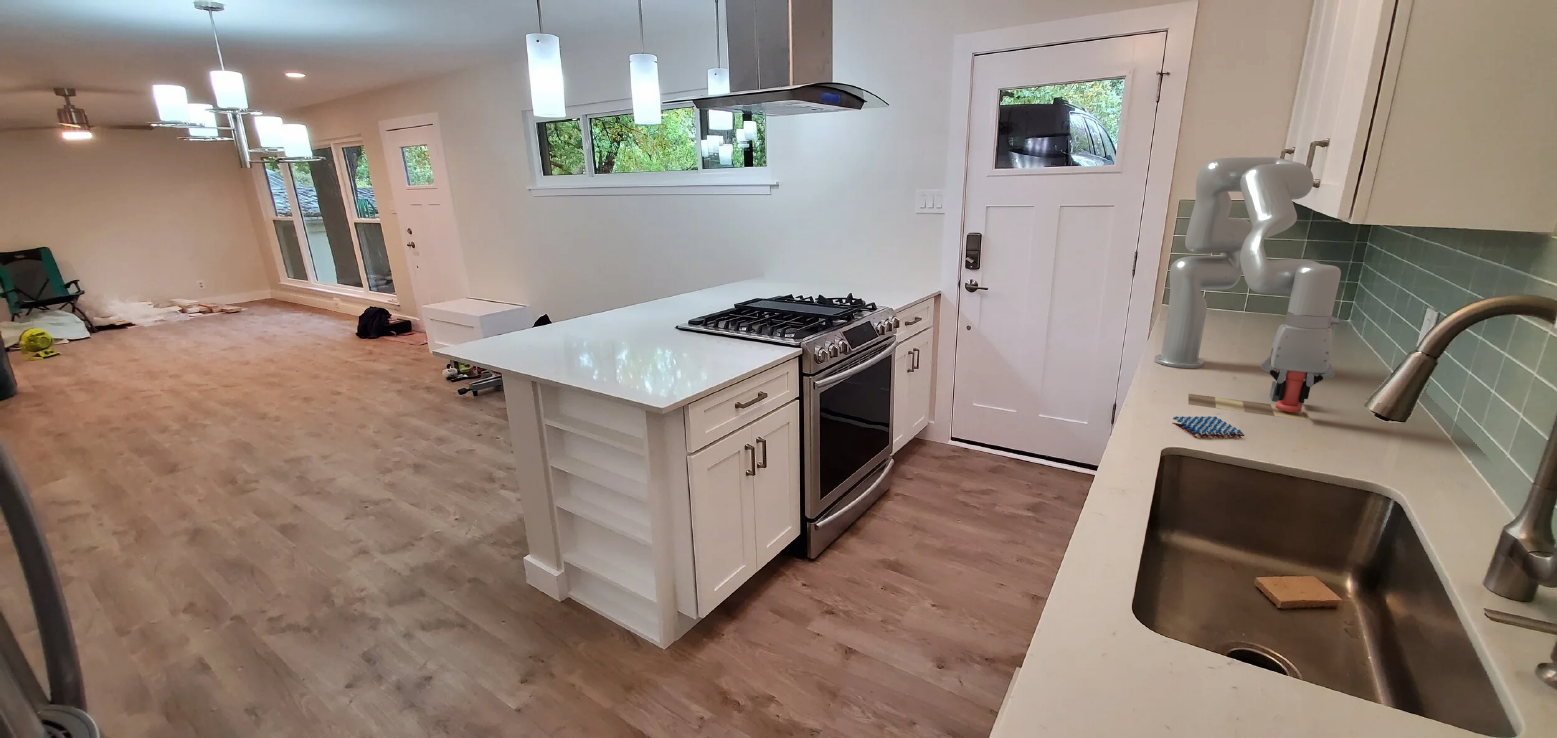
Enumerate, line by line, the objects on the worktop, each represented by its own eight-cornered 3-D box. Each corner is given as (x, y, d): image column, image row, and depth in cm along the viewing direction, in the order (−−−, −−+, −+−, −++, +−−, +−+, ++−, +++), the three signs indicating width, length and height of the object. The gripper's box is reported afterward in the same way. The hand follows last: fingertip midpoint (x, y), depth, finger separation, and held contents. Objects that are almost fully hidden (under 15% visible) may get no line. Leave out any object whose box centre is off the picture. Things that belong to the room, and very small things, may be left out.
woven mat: (1246, 441, 133) (1248, 432, 133) (1195, 441, 134) (1196, 432, 133) (1215, 423, 143) (1216, 414, 143) (1167, 423, 144) (1169, 415, 143)
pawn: (1274, 404, 147) (1283, 361, 144) (1299, 407, 145) (1309, 364, 142) (1276, 410, 144) (1286, 366, 141) (1302, 413, 141) (1312, 369, 138)
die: (1268, 400, 156) (1272, 380, 155) (1294, 403, 154) (1298, 383, 152) (1270, 406, 152) (1275, 386, 150) (1297, 409, 149) (1301, 389, 148)
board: (1187, 398, 158) (1188, 393, 158) (1298, 412, 147) (1300, 408, 147) (1187, 408, 151) (1188, 404, 151) (1304, 425, 140) (1305, 420, 139)
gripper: (1352, 321, 137) (1333, 401, 143) (1259, 315, 146) (1244, 390, 151) (1360, 328, 131) (1340, 411, 136) (1262, 321, 140) (1246, 399, 145)
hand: (1290, 399), depth 144 cm, fingers closed on pawn, 3 cm apart
